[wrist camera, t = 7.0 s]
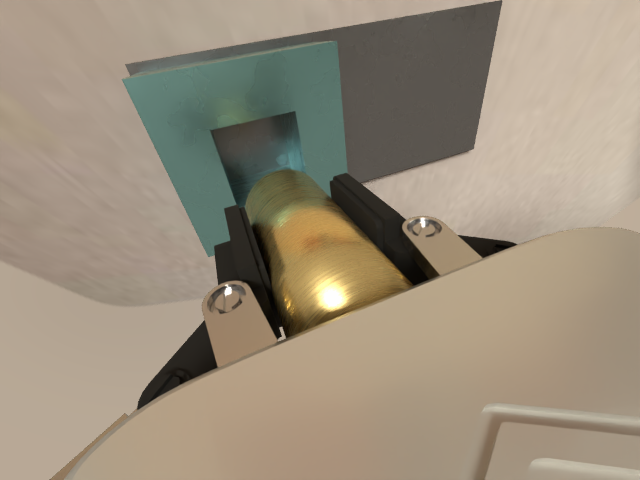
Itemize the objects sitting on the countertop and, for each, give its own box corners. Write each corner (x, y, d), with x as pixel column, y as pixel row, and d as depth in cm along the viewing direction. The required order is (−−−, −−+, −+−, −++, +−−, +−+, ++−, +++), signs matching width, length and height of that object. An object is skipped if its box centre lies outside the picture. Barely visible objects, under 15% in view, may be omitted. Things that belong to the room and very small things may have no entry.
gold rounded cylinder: (316, 159, 12) (444, 271, 6) (326, 227, 14) (428, 362, 8) (234, 182, 12) (284, 336, 5) (257, 250, 14) (313, 417, 7)
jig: (492, 1, 23) (567, -11, 18) (466, 146, 30) (515, 164, 26) (128, 63, 17) (104, 68, 13) (202, 223, 25) (203, 264, 20)
